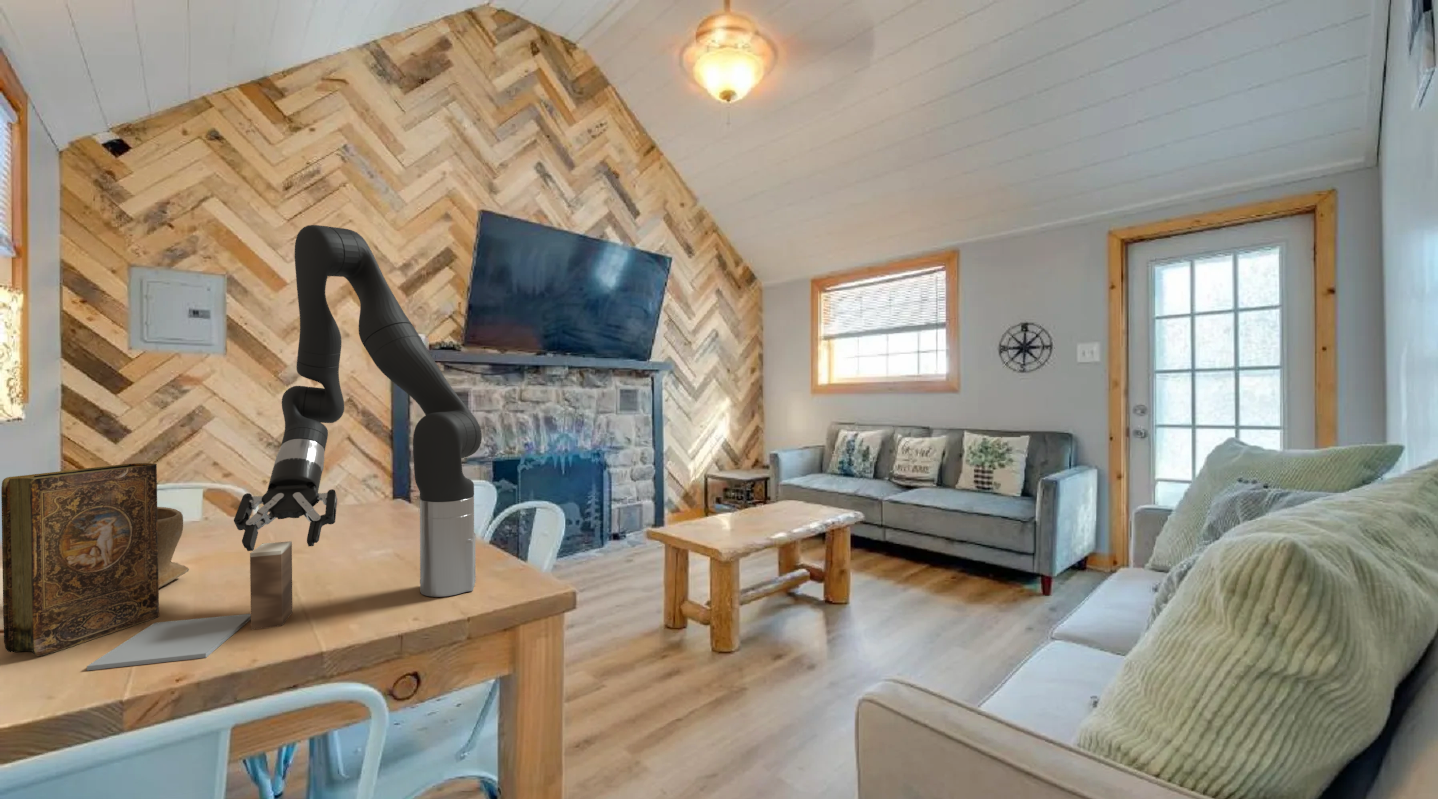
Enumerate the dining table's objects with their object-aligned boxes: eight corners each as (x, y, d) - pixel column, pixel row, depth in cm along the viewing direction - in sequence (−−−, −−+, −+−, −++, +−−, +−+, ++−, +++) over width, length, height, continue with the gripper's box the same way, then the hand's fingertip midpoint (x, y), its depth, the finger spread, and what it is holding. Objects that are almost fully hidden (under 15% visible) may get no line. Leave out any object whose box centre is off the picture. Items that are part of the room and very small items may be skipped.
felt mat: (253, 617, 97) (253, 613, 97) (206, 657, 83) (205, 653, 83) (154, 626, 93) (154, 622, 93) (87, 670, 79) (86, 666, 79)
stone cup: (156, 601, 104) (154, 516, 103) (74, 605, 101) (72, 518, 101) (210, 573, 119) (209, 499, 118) (139, 577, 116) (138, 501, 116)
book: (140, 611, 99) (137, 462, 98) (166, 614, 98) (163, 463, 97) (3, 655, 83) (-1, 477, 82) (33, 659, 82) (29, 479, 81)
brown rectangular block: (292, 612, 99) (291, 541, 99) (281, 625, 94) (281, 550, 93) (263, 615, 98) (262, 543, 97) (250, 629, 92) (250, 553, 92)
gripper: (246, 458, 105) (221, 538, 94) (340, 455, 110) (326, 530, 100) (256, 483, 110) (233, 561, 99) (345, 479, 115) (333, 553, 105)
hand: (280, 546), depth 100 cm, fingers open, 8 cm apart
